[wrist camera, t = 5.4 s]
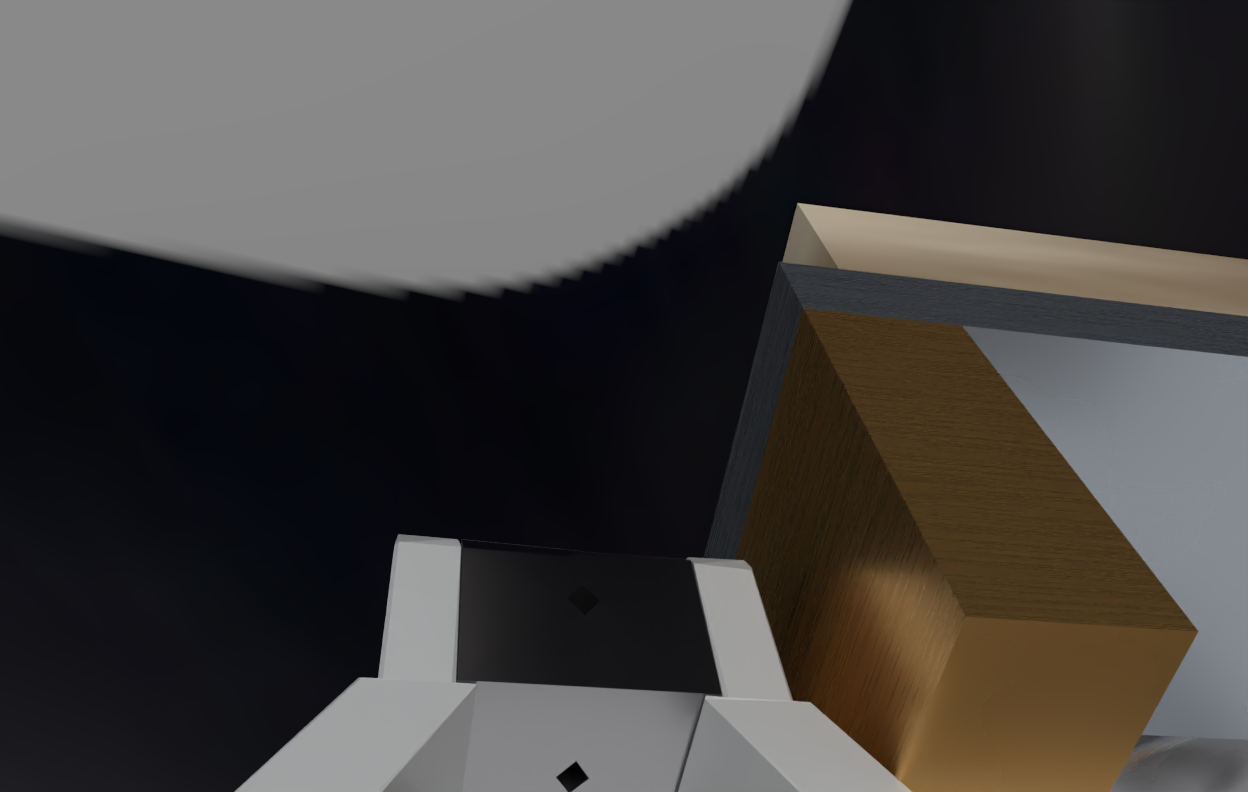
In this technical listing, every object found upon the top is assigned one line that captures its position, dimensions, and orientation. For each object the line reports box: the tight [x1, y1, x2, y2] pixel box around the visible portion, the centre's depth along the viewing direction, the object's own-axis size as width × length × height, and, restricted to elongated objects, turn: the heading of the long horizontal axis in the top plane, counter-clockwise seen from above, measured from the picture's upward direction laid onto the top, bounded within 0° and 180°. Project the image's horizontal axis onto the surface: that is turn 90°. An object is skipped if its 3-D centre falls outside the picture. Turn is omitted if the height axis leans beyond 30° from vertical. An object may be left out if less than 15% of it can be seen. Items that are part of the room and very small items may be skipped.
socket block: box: [783, 203, 1248, 316], centre depth 20 cm, size 14×14×7 cm
